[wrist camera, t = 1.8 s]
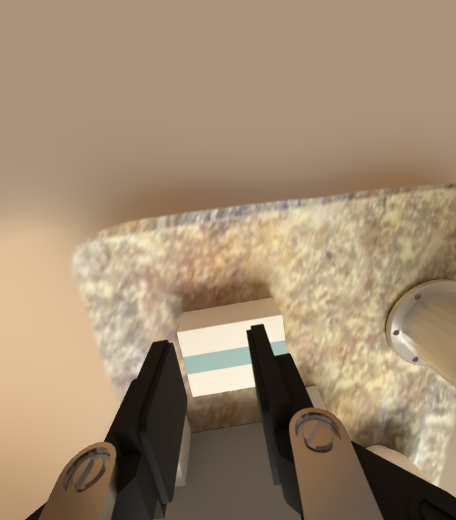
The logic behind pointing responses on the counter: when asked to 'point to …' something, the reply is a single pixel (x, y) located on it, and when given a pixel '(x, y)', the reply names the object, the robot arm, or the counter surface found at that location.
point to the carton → (226, 344)
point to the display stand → (229, 475)
